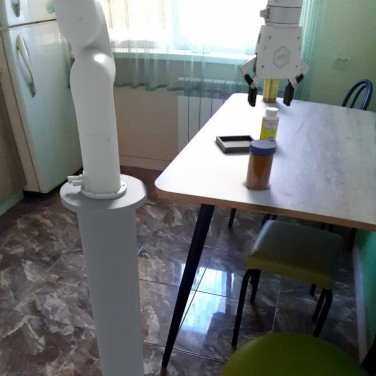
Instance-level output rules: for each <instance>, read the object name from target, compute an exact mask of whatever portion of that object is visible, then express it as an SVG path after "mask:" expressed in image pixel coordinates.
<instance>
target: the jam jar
mask: <svg viewBox="0 0 376 376" xmlns="http://www.w3.org/2000/svg"><path fill="white" fill-rule="evenodd" d="M274 155H275V153H274V154H272V155H267V156H263V155H257V154H253V153H251V152H249V155H248V163H247V170H246V177H245V187H247V188H249V189H251V190H254V191H255V190H256V191H262V190H263V191H264V190H266V189H268V188H269V185H270V180H271V174H272V167H273V162H274V157H275V156H274Z"/></svg>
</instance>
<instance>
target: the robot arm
mask: <svg viewBox="0 0 376 376" xmlns="http://www.w3.org/2000/svg"><path fill="white" fill-rule="evenodd" d="M51 2H52V6H53V11H54V14H55V20H56V23H57V27H58V29H59V31H60V33H61V36H62V37H63V38H64V40H65V41H67V42H68V43H69V44H70V46H71V50H72V54H73V57H74V61H73V63H72V65H71V68H70V74H69V87H70V91H71V96H72V102H73V105H74V111H75V117H76V124H77V131H78V138H79V144H80V152H81V160H82V168H83V170H82V174H79V175H68V176H67V182H68V183H69V184H72V183H73V186H81V187H80V189H81V193H82V194H83V195H84V196H86V197H89V198H92V199H99V200H105V199H113V198H117V197H120V196H122V195H123V194H125V193H126V191H127V185H126V183H125V182H123V181H122V180H121V178H120V174H121V168H120V167H121V166H120V154H119V139H118V129H117V127H118V126H117V116H116V107H115V105H116V104H115V96H114V85H115V80H116V76H117V74H116V73H117V68H116V62H115V57H114V53H113V49H112V43H111V39H110V33H109V29H108V25H107V20H106V15H105V12H104V9H103V6H102V3H101V2H100V1H99V0H51ZM303 4H304V0H267V2H266V5H265V8H263V9H262V8H261V9H260V11H259V17H260V18H263V20H264V22H262V23H261V25H260V28H259V32H258V36H257V39H256V44H255V49H254V54H253V56H252V57H250V58H249V59H247V60H246V61H244V62H243V63H241V64H240V65H239V70H240V72H241V76H242V78H243V80H244V81H245V83H246V84H247V85H248V92H247V103H248V105H249V106H250V107H252V108H255V107H256V106H257V105H256V104H257V97H258V88H257V86H258V84H259V83H260V81H261V80H262V79H263V80H265V79H279V80H286V81H287V84H286V86H285V87H284V94H283V98H282V104H283V105H285V106H286V107H291V105H292V102H293V99H294V94H295V89H296V88H297V87H298V85H299V84H300V83H301V82H302V81H303V79H304V77H305V76H306V75H307V73H308V71H309V70H310V68H311V67H310V65H309V64H308V63H307V62H306V61H305V60H303V58H301V57H302V51H303V50H302V48H303V30H304V29H303V27H304V26H303V25H301V24H300V22H301V15H302V11H303ZM251 67H252V73H253V74H252V75H250V74H249V69H250V68H251Z"/></svg>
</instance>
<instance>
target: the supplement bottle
mask: <svg viewBox="0 0 376 376" xmlns="http://www.w3.org/2000/svg"><path fill="white" fill-rule="evenodd" d="M278 113H279V108H277V107H270V106H269V107H266V108H265V113H264V114H263V115H262V118H261V127H260V133H259V140H268V141H272V142H274V143H276V140H277V135H278V134H277V133H278V128H279V123H280V116H279V115H278Z"/></svg>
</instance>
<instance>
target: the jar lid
mask: <svg viewBox="0 0 376 376" xmlns="http://www.w3.org/2000/svg"><path fill="white" fill-rule="evenodd" d="M276 150H277V144H276V142H272V141H268V140H260V139H255V140H253V141H251V142H250V147H249V151H250V152H251V153H253V154H257V155H263V156H267V155H272V154H274V155H275V153H276V152H277V151H276ZM250 152H249V153H250Z"/></svg>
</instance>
